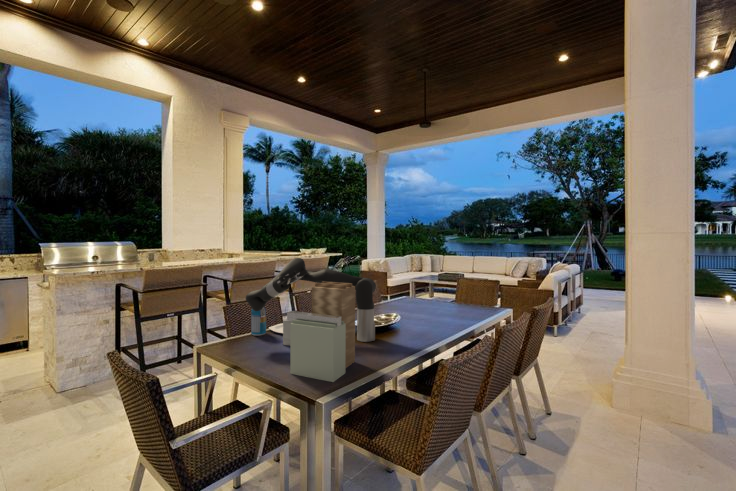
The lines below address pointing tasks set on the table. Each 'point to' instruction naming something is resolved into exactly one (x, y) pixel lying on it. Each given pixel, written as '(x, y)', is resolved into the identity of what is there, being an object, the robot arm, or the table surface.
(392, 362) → the table surface
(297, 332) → the sage dock
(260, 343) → the table surface
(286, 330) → the supplement box
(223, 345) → the table surface
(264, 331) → the beverage bottle
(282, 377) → the table surface
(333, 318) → the steel bar
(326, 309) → the oak stand
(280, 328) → the plate
